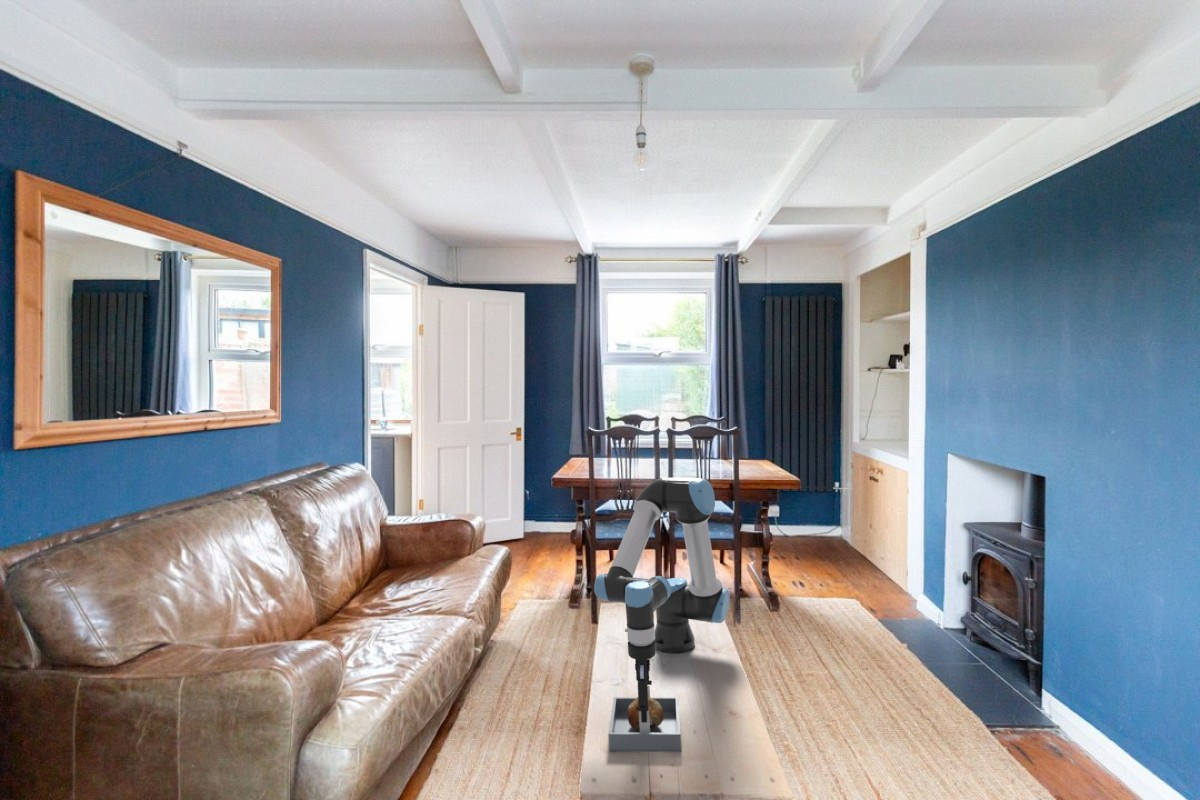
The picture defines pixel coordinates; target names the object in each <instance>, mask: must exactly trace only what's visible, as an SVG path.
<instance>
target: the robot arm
mask: <svg viewBox="0 0 1200 800" xmlns="http://www.w3.org/2000/svg"><path fill="white" fill-rule="evenodd" d="M715 500H716V497H715V492H714V488H713V486H712V483H710V482H709V481H708V479H706V478H699V477H670V476H669V477H667V476H666V477H664V476H663V477H660V478H658V479H655V480H653V481H652V482H650V483H649V484H647V485H646V487H645V488H644V489H643V490H642V491H641V492H640V493H639V495H638V496H637V497H636V500H635V502H634V504H633V513H632V517H631V518H630V522H629V524H628V526H627V528H626V530H625V532H624V535H623V537H622V540H621V542H620V544H619V546H618V549H617V551H616V554H615V556H614V558H613V560H612V563H611V565H610V568H609V570H608V572H607V573H600V574H598V575H597V576H596V578H595V581H594V586H593V587H594V588H593V590H594V594H595V596H596V598H597V599H598V600H602V601H607V602H614V603H615V602H616V603H622V604H625V612H626V613H625V615H626V617H625V618H626V628H625V629H624V632H625V633H627V641H628V642H627V653H628V656H629V657H630V658H631V659H633V660H635V661H634V662H635V663H634V670H635V679H636V681H637V697H638V707H636V710H638V711H639V725H640V732H644V733H650V718H649V706H648V697H651V689H650V686H652V683H653V682H652V680H650V670H651V667H650V666H651V661H650V660H651V659H652V658H654V657H655V655H656V652H657V651H656V650H658V649H659V650H658V651H660V650H662V651H661V652H663V651H665V652H664V653H668V652H671V653H670V654H678V653H677V652H680V653H684V652H688V651H690V650H692V649H693V648H694V647H695V645H696V644H695V643H696V642H695V636H694V633H693V630H692V628H691V625H690V620H692V621H699V622H706V623H711V624H713V623H714V624H723V622H724V621H725V620H726V618H727V615H728V611H729V607H730V591H729V590H728V589H726V588H723V585H722V582H721V579H719V578H717V574H716V573H717V572H716V568H715V560H714V555H713V548H712V542H711V536H710V530H709V523H708V520H709V519H710V518H711V516H712V515H711V514H713V512H714V511H715V507H716V501H715ZM666 512H667V513H675V519H676V521H677V522H678V523H680V524H681V525H682V531H683V532H682V533H683V537H684V544H685V549H686V554H687V562H688V566H689V572H690V573H689V574H690V579H691V580H690V582H689V584H688V581H687V579H685V578H683V577H672V578H665V577H664V576H662V575H656V576H652V577H651V578H649V579H648V578H639V577H634V575H635V573H636V570H637V569H638V566H639V563H640V560H641V558H642V556H643V553H644V550H645V548H646V546H647V542H648V540H649V538H650V535H651V533H652V530H653V529H654V528H653V527H654V525H655V523H656V521H658V520H659V519H660V517H661V516H662V514H663V513H666ZM654 612H655V615H656V625H655V617H654V616H655V615H654ZM656 648H657V649H656Z"/></svg>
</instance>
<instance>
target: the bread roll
mask: <svg viewBox="0 0 1200 800" xmlns="http://www.w3.org/2000/svg"><path fill="white" fill-rule="evenodd" d="M636 697H637V698H636V699H635V700H634V701H633V702H632V703H631V704H630V705H629V707H628V720H629V724H630V725H631V726H632V727H633V728H634V729H637V730H640V725H639V711H638V710H636V707H638V696H636ZM650 697H651V696H650ZM650 697H648V706H649V718H650V730H652V729H655V728H657V727H658V726H659V725H660V724H661V723H662V721H663V717H664V716H663V709H662V707H661V705H660V704H659V703H658V702H657V701H656V700H654V699H652V698H650Z"/></svg>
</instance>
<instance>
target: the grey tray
mask: <svg viewBox="0 0 1200 800" xmlns="http://www.w3.org/2000/svg"><path fill="white" fill-rule="evenodd" d="M637 697H638V696H614V697H613V701H612V707H611V708H612V709H611V714H610V721H609V729H608V750H609V752H656V753H657V752H661V753H664V752H665V753H666V752H667V753H668V752H670V753H671V752H673V753H675V752H676V753H680V752H681V753H682V738H681V724H680V719H681V718H680V706H679V705H680V703H679V696H650V698H652V699H654V700H656V701H657V702H658V703H659V704H660V705H661V707H662V709H663V716H664V717H663V721H662V723H661V724H660V725H659V726H658V727H657V728H655V729H652V730H650V733H644V732H640V730H637V729H634V728H633V727H632V726H631V725H630V724H629V720H628V707H629V705H630V704H631V703H632V702H633V701H634V700H635V699H636V698H637Z"/></svg>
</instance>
